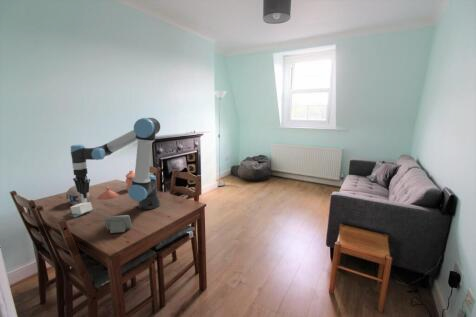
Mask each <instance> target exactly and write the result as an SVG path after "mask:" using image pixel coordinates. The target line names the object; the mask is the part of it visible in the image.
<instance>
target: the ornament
mask: <svg viewBox="0 0 476 317" xmlns="http://www.w3.org/2000/svg"><path fill="white" fill-rule="evenodd" d="M65 198H66V200H67V202H68V203H69V204H70V205H72V206H74V205H77V204H79V203H82V200H81V195H80V193H79V192H77V188H76V185H75V184H74V185H73V186H71V187H69V188H68V189H67V191H66V194H65ZM90 198H91V191H90V190H89V192H88V193H87V202H88V201H89V200H90Z"/></svg>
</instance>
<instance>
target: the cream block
mask: <svg viewBox="0 0 476 317" xmlns="http://www.w3.org/2000/svg"><path fill="white" fill-rule="evenodd" d="M92 208H93V205H92V202H90V201H89V202H88V201H87V202H86V203H79V204H77V205H72V206H69V209H70V213H71V214H82V213H84V214H86V213H85V212H87V211H89V212H91V211H93V210H92ZM90 210H91V211H90ZM87 213H88V212H87ZM82 215H83V214H82Z"/></svg>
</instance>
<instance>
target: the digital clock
mask: <svg viewBox="0 0 476 317" xmlns="http://www.w3.org/2000/svg"><path fill="white" fill-rule="evenodd" d="M103 219H104V224H105V227H106V229H107V230H108V231H109V233H110V234H114V233H125V231H126V230H127V229H131V228H132V227H133V224H132V219H131V216H130V215H128V214H126V215H125V214H124V215H115V216H114V215H113V216H106V217H104V218H103Z"/></svg>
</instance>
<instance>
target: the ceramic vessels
mask: <svg viewBox="0 0 476 317" xmlns="http://www.w3.org/2000/svg"><path fill="white" fill-rule="evenodd" d="M134 177H135V172H134V170H130V171H129V173H127V174H125V178H126V179H125V183H126V184H127V185H126V188H125V189H126V191H127V192H128V190H129V188H130V187H131V184H132V178H134ZM119 196H120V193H119V192H116V191H113V190H110V186H106V191H104V192H103V193H101V194H100V195H99V196H97V199H98V200H101V201H105V200H106V201H107V200H113V199H115V198H118V197H119Z"/></svg>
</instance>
